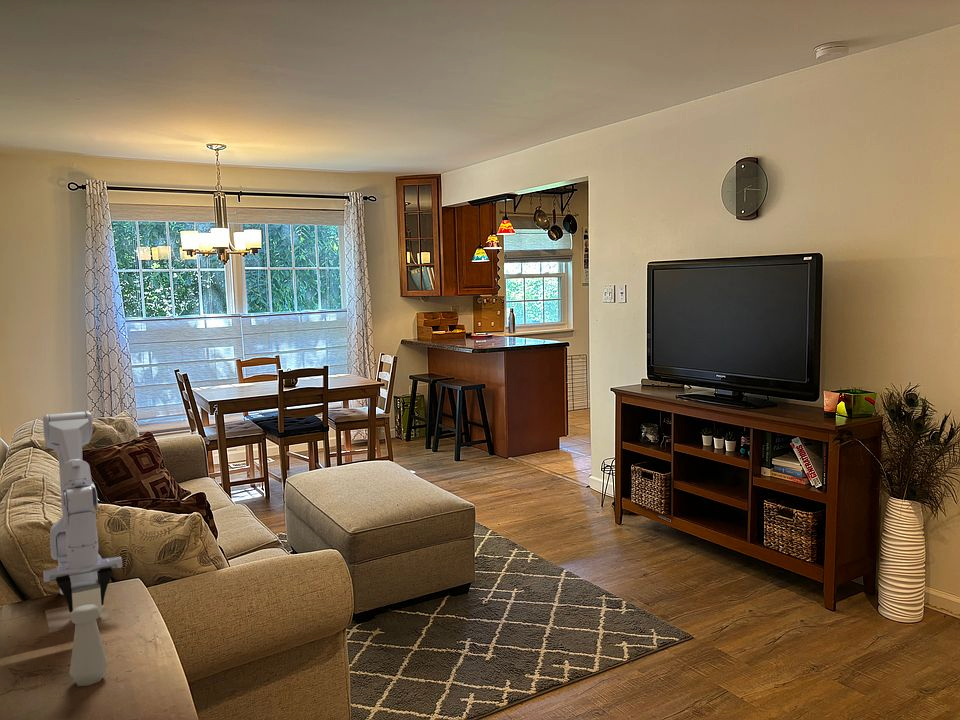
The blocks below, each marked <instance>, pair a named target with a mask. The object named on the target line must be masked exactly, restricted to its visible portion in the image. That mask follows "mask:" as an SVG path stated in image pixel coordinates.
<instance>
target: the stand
mask: <svg viewBox="0 0 960 720" xmlns="http://www.w3.org/2000/svg"><path fill="white" fill-rule="evenodd" d="M44 611H45V612H44V613H45V617H46V622H47V626H48V632H49V634H52V633H56V632H60V631H64V630H69V629H73V628H74V629H75V626H76V624H74V623H72V621H71V613H72V612H69V607H68V605H65V606H61V607H57V608H55V607H54V608H52V609H47V610H44ZM108 620H111V617H110V615H109V614H108V611H107V608H106V607H105V604H104V605H102V613H100V614H99V617H98V618H97V619H96V622H97V623H100V622H103V621H108Z"/></svg>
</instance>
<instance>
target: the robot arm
mask: <svg viewBox="0 0 960 720" xmlns="http://www.w3.org/2000/svg"><path fill="white" fill-rule="evenodd" d="M42 425H43V437H44V444H45V445H46V448H47V449H50V450H51V449H52V450H55V453H56V454H57V457H58V470H59V483H60V486H59V487H60V503H61V504H60V505H61V514H62V516H61V518H60V519H58V520H57V521H56V522H55V523H53V524H52V525H51V527H50V529H49V532H50V535H49V543H50V545H49V546H50V557H51V559H53V561H55V560H57V567H55V568H51V569H46V570H43V582H44V583H48V582H51V581H54V580H55V581H56V584H57V586H58V588H59V594H60V595H62V596H64V598H65V600H66V603H67V606H68V607H69V612H72V611H73V606H72V594H71V584H74V583H79V582H84V581H89V580H94V579H98V581H99V584H100V590H101V606H102V605H104V606H105V602H104V601H105V597H106V591H107V589H108V585H109V583H110V581H111V578H112V576H113V570H112V569H119V568H123V559H122V556H115V557H107V558H103V557H102V556H101V555H100V554H99V534H98V529H97V516H96V513H97V512H98V507H99V501H98V491H97V489H96V485H95V482H94V481H93V480H92V474H91V468H90V467H91V466H90V464H89V463H88V462H87V461H85V460H83V447H84V446H86V445H89V444H90V441H91V440H92V435H93V432H94V431H93V429H94V428H93V417H92V413H91V412H90V411H89V410H84V411H77V412H65V413H63V412H62V413H53V414H52V413H51V414H48V413H46V414H44V415H43V416H42Z"/></svg>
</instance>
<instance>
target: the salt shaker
mask: <svg viewBox="0 0 960 720" xmlns="http://www.w3.org/2000/svg"><path fill="white" fill-rule="evenodd" d="M98 617H99V608H98V606H96V605H93V604H88V605H82V606H79V607H77V608H75V609H74V610H73V611H72V613H71V621H72V623H74V624H76V626H75V627H74V635H73V643H72V650H71V659H70V666H69V671H68V672H69V675H70V677H71V678H72V680H73V681H74V682H75V684H76V685H77V687H85V686H87V687H88V686H89V687H90V686H91V685H94V684H96V683H99V682H101V680H102V679H103V677H104V674H105V672H106V669H107V665H108V660H107V657H106V652H105V649H104V645H103V641H102V637H101V634H100V630H99V625H98V622H96V619H97V618H98Z"/></svg>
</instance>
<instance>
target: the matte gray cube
mask: <svg viewBox="0 0 960 720" xmlns="http://www.w3.org/2000/svg"><path fill="white" fill-rule="evenodd" d="M71 594H72V606H73V610H74V609H75V608H77V607H79V606H82V605H88V604H93V605H96V606H98V608H99V614H100V613H102V606H101V590H100V584H99V581H98V579H94V580H89V581H84V582H79V583H74V584H71Z"/></svg>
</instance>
